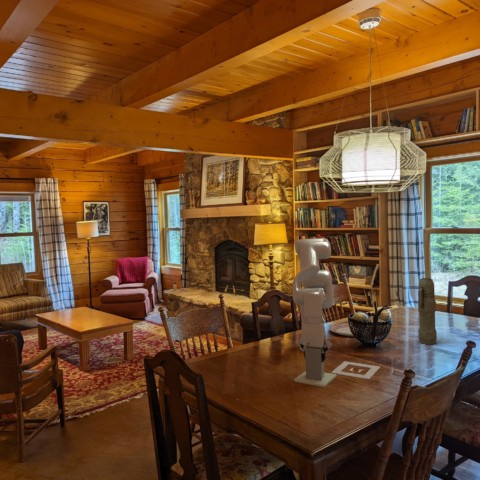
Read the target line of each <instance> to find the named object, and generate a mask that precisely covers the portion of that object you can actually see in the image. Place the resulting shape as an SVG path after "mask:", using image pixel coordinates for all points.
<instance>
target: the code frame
mask: <svg viewBox="0 0 480 480" xmlns="http://www.w3.org/2000/svg"><path fill="white" fill-rule="evenodd" d="M348 366H354V367H359V369H358V373H361V372H362V371H363V372H364V371H365V370H364V369H361V368H367V369H369V370H368V371H367V372H366V373H365V374H358V373H354V367H350V368H351V369H349V372H347V371H343V370H344V369H345V368H347V367H348ZM380 368H381V366H378V365H374V364H373V365H371V364H365V363H360V362H359V363H358V362H351V361H343V362H342V363H340V364H339V365H338V366H337V367H336V368H334V370H332V371H331V374H337V375H339V376H347V377H352V378H358V379H363V380H370V379H371V378H372V377H373V376H374V375H375V374H376V373H377V372H378V371H379V369H380ZM351 372H352V373H351Z"/></svg>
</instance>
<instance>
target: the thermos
mask: <svg viewBox="0 0 480 480" xmlns="http://www.w3.org/2000/svg"><path fill="white" fill-rule="evenodd" d="M435 294H436V293H435V282H434V280H433V279H432V278H431V277H422V278H419V282H418V299H417V310H418V317H419V318H418V320H419V325H418V326H419V328H418V343H419V344H420V343H421V344H420V345H423V344H425V345H424V346H435V345H437V339H438V338H437V337H438V336H437V330H436V311H437V305H436V303H437V301H436V298H435V297H436V296H435ZM434 344H435V345H434Z"/></svg>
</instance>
